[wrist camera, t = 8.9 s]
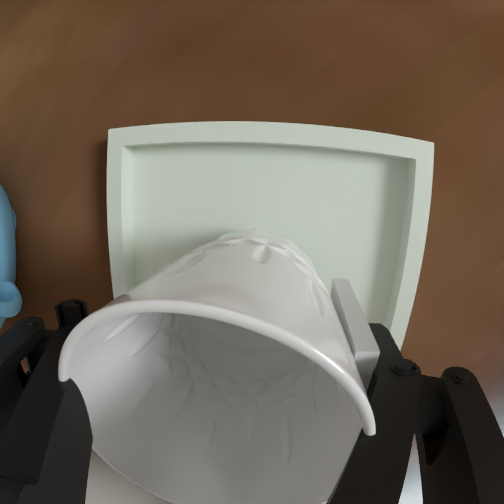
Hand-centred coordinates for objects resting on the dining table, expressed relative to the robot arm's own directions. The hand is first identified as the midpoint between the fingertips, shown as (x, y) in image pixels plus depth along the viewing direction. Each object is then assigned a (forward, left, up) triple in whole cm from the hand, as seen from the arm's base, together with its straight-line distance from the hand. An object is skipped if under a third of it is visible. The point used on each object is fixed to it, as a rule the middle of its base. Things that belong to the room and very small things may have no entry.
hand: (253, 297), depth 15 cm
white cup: (0, 0, -1) cm, 1 cm away
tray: (0, 0, -2) cm, 2 cm away
